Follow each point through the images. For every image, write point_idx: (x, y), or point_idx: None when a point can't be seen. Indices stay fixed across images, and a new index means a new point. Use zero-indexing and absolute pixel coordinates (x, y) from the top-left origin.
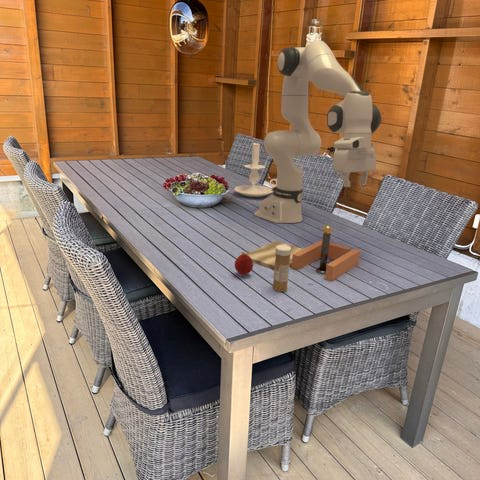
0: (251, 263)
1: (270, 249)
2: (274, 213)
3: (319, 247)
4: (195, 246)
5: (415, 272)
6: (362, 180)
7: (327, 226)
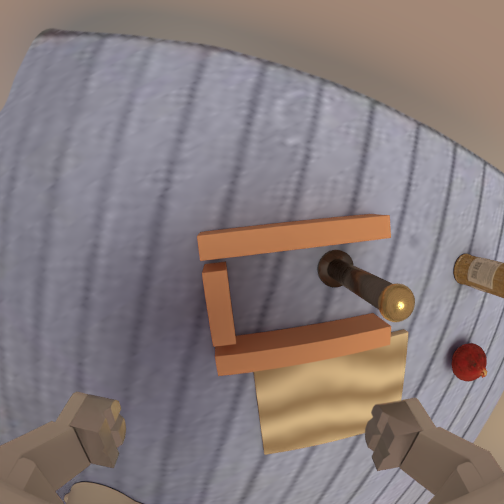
0: (473, 350)
1: (327, 424)
2: None
3: (270, 346)
4: (391, 483)
5: (129, 92)
6: (104, 441)
7: (411, 304)
